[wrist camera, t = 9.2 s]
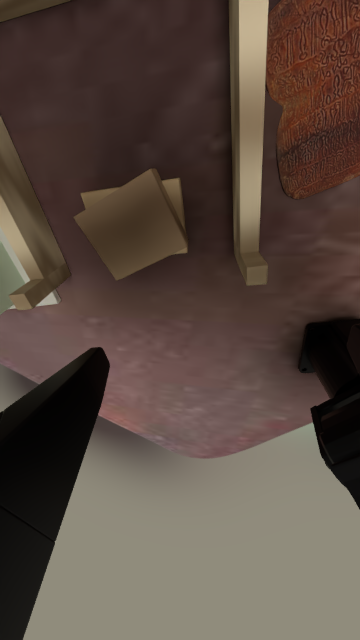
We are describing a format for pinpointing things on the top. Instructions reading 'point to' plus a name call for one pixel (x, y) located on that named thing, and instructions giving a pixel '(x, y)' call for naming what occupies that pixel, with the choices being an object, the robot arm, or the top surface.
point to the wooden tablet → (315, 92)
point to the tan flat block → (134, 226)
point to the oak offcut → (172, 190)
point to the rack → (247, 147)
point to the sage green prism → (8, 279)
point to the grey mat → (51, 298)
